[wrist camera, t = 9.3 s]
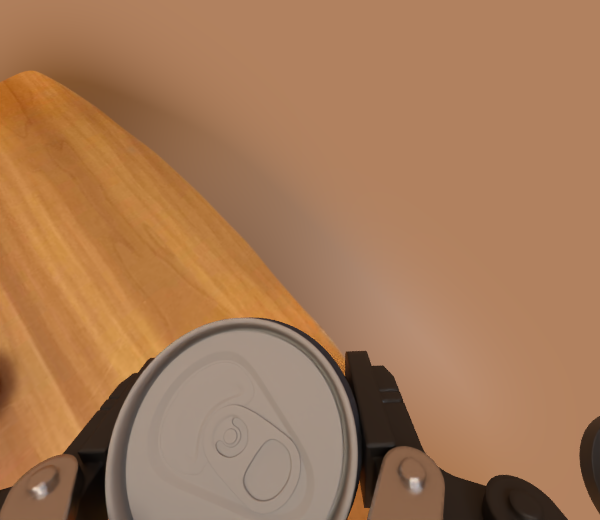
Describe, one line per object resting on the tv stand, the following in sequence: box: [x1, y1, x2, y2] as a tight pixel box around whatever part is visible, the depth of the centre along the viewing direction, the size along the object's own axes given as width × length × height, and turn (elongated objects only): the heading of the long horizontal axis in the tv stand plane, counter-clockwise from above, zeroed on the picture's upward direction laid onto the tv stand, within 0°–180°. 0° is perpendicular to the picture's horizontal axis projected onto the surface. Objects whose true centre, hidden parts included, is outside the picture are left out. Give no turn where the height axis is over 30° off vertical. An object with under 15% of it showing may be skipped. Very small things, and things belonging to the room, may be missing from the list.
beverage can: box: [105, 318, 362, 520], centre depth 13 cm, size 6×6×15 cm
